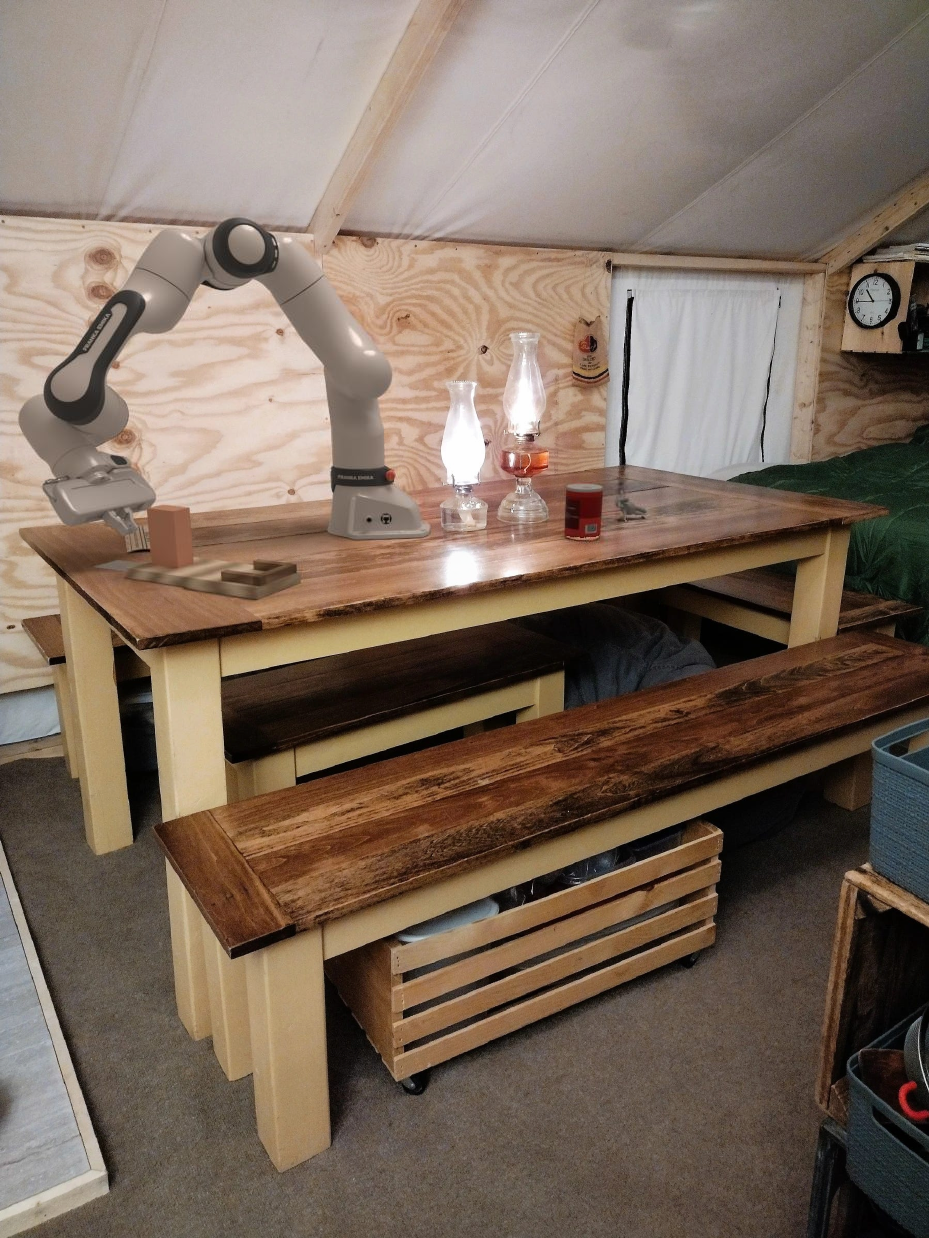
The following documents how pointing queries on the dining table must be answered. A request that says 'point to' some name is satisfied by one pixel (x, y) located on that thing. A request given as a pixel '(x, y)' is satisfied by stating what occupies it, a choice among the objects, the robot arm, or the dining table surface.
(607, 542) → the dining table surface
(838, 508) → the dining table surface
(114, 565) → the plate
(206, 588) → the rail deck
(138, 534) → the newspaper
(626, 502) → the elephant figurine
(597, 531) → the canned food
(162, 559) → the block
